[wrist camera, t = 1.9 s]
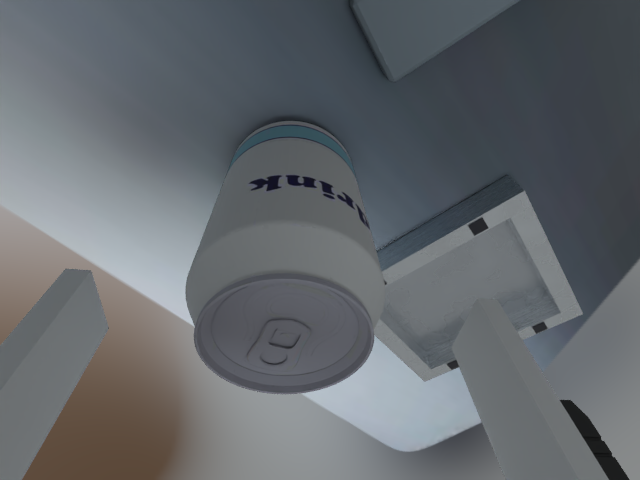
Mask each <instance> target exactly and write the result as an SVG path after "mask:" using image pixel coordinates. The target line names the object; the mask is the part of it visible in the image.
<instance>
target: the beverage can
mask: <svg viewBox="0 0 640 480" xmlns="http://www.w3.org/2000/svg"><path fill="white" fill-rule="evenodd" d="M186 302H187V306H188V310H189V313H190V315H191V318H192V320H193V323H194V325H195V330H194V342H195V347H196V350H197V352H198V354H199V356H200V358H201V359H202V361H203V362H204V363H205V365H206V366H208V368H209V369H210V370H212V371H213V372H214V373H215V374H217V375H218V376H219V377H221V378H223V379H224V380H226V381H228V382H230V383H232V384H235V385H237V386H240V387H242V388H246V389H249V390H253V391H258V392H263V393H272V394H297V393H306V392H311V391H316V390H320V389H323V388H326V387H329V386H332V385H334V384H337V383H339V382H341V381H343V380H344V379H346V378H348V377H349V376H351V375H352V374H353V373H355V372H356V371H357V370H358V369H359V368H360V367H361V366H362V365H363V364H364V363H365V361H366V360H367V359H368V357H369V355H370V353H371V351H372V348H373V343H374V329H375V327H376V325H377V323H378V321H379V318H380V316H381V314H382V311H383V308H384V303H385V282H384V278H383V274H382V271H381V267H380V263H379V260H378V256H377V252H376V249H375V245H374V241H373V238H372V234H371V231H370V227H369V223H368V220H367V216H366V212H365V209H364V205H363V201H362V198H361V194H360V190H359V187H358V183H357V180H356V176H355V172H354V169H353V165H352V162H351V159H350V157H349V155H348V153H347V151H346V150H345V148H344V147H343V145H342V144H341V143H340V142H339V141H338V140H337V139H336V138H335V137H334V136H333V135H331V134H330V133H329V132H327V131H325V130H324V129H322V128H320V127H318V126H315V125H313V124H309V123H305V122H300V121H282V122H276V123H272V124H269V125H266V126H264V127H261V128H259V129H258V130H256V131H254V132H253V133H252V134H250V135H249V136H248V137H247V138H246V139H245V140H244V141H243V142H242V143H241V144H240V146H239V147H238V149H237V150H236V152H235V154H234V156H233V159H232V162H231V164H230V167H229V169H228V172H227V175H226V177H225V180H224V182H223V185H222V188H221V190H220V193H219V195H218V198H217V201H216V203H215V206H214V208H213V211H212V214H211V216H210V219H209V221H208V224H207V227H206V229H205V232H204V234H203V237H202V240H201V242H200V245H199V247H198V250H197V253H196V255H195V258H194V261H193V263H192V266H191V268H190V271H189V274H188V277H187V282H186Z"/></svg>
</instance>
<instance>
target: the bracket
mask: <svg viewBox="0 0 640 480" xmlns="http://www.w3.org/2000/svg"><path fill="white" fill-rule="evenodd" d="M518 1H520V0H350V3H349V5H350V7H351V9H352V11H353V13H354V15H355V17H356V19H357V21H358V23H359V25H360V27H361V29H362V31H363V33H364V35H365V37H366V39H367V41H368V43H369V45H370V47H371V49H372V51H373V53H374V55H375V57H376V59H377V61H378V63H379V65H380V67H381V69H382V71H383V73H384V75H385V76H386V77H387V78H388V80H389V81H392V82H396V81H398V80H400V79H401V78H403V77H404V76H406V75H407V74H409V73H410V72H412V71H413V70H415V69H416V68H418V67H419V66H421V65H422V64H424V63H425V62H427V61H428V60H430V59H432V58H433V57H435V56H436V55H438V54H439V53H441V52H442V51H444V50H445V49H447V48H448V47H450V46H451V45H453V44H454V43H456V42H457V41H459V40H460V39H462V38H463V37H465V36H467V35H468V34H470V33H471V32H473V31H474V30H476V29H477V28H479V27H480V26H482V25H483V24H485V23H486V22H488V21H489V20H491V19H492V18H494V17H495V16H497V15H499V14H500V13H502V12H503V11H505V10H506V9H508V8H509V7H511V6H512V5H514V4H515V3H517V2H518Z"/></svg>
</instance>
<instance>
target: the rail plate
mask: <svg viewBox="0 0 640 480" xmlns="http://www.w3.org/2000/svg"><path fill="white" fill-rule="evenodd" d="M377 256H378V260H379V263H380V267H381V271H382V274H383V278H384V282H385V303H384V308H383V311H382V314H381V316H380V318H379V321H378V323H377V325H376V327H375V329H374V335H375V336H376V337H377V338H378V339H379V340H380V341H381V342H383V343H384V344H385V345H386V346H387V347H388V348H389V349H390V350H391V351H392V352H393V353H394V354H395V355H397V356H398V357H399V358H400V359H401V360H402V361H403V362H404V363H405V364H406V365H407V366H408V367H409V368H411V369H412V370H413V371H414V372H415V373H416V374H417V375H418V376H419V377H420V378H421V379H422V380H423V381H428V380H430V379H432V378H435V377H437V376H439V375H442V374H444V373H446V372H449V371H451V370H453V369H456V368H458V367H459V365H458V363H457V360H456V358H455V355H454V353H453V350H452V348H451V347H452V345H453V343H454V341H455V340H456V338H457V336H458V334H459V332H460V330H461V328H462V326H463V324H464V322H465V321H466V319H467V317H468V315H469V313H470V311H471V309H472V307H473V305H474V303H475V301H476V300H477V298H481V299H495V300H498V302H499V303H500V305H501V307H502V308H503V310H504V311H505V313H506V315H507V316H508V318H509V319H510V321H511V323H512V324H513V326H514V328H515V329H516V331H517V332H518V334H519V336H520V337H521V339H522V340H524V339H526V338H528V337H531V336H533V335H535V334H538V333H540V332H542V331H545V330H547V329H549V328H552V327H554V326H556V325H559V324H561V323H563V322H566V321H568V320H570V319H573V318H575V317H577V316H580V315H582V314H583V313H582V311H581V308H580V306H579V304H578V302H577V300H576V298H575V296H574V294H573V292H572V289H571V287H570V285H569V283H568V281H567V279H566V277H565V275H564V273H563V271H562V268H561V266H560V264H559V262H558V260H557V258H556V256H555V254H554V252H553V249H552V247H551V245H550V243H549V241H548V239H547V237H546V235H545V233H544V230H543V228H542V226H541V224H540V222H539V220H538V218H537V216H536V214H535V212H534V209H533V207H532V205H531V203H530V201H529V199H528V197H527V195H526V193H525V191H524V190H523V189H522V188H521V187H520V186H519V185H518V184H517V183H516V182H515V181H514V180H513V179H512V178H511V177H510V176H509V175H506V176H505V177H503V178H501V179H500V180H498V181H496V182H495V183H493V184H491V185H490V186H488V187H486V188H484V189H483V190H481V191H479V192H478V193H476V194H474V195H473V196H471V197H469V198H468V199H466V200H464V201H463V202H461V203H459V204H457V205H456V206H454V207H452V208H451V209H449V210H447V211H446V212H444V213H442V214H441V215H439V216H437V217H435V218H434V219H432V220H430V221H429V222H427V223H425V224H424V225H422V226H420V227H419V228H417V229H415V230H414V231H412V232H410V233H408V234H407V235H405V236H403V237H402V238H400V239H398V240H397V241H395V242H393V243H392V244H390V245H388V246H387V247H385V248H383V249H381V250H380V251H378V252H377Z"/></svg>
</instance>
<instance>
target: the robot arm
mask: <svg viewBox="0 0 640 480" xmlns="http://www.w3.org/2000/svg"><path fill="white" fill-rule="evenodd" d="M108 329H109V327H108V324H107V321H106V317H105V314H104V311H103V308H102V305H101V301H100V298H99V294H98V292H97V288H96V285H95V281H94V278H93V275H92V272H91V270H77V269H65V270H64V271H63V273H62V274H61V275H60V276H59V277H58V278H57V280H56V281H55V282H54V283H53V284H52V286H51V287H50V288H49V289H48V290H47V291H46V293H45V294H44V295H43V296H42V297H41V298H40V300H39V301H38V302H37V303H36V304H35V305H34V307H33V308H32V309H31V310H30V311H29V312H28V314H27V315H26V316H25V317H24V318H23V320H22V321H21V322H20V323H19V324H18V325H17V327H16V328H15V329H14V330H13V331H12V332H11V334H10V335H9V336H8V337H7V338H6V340H5V341H4V342H3V343H2V344H1V345H0V480H22V478H23V477H24V475H25V473H26V471H27V470H28V468H29V466H30V464H31V463H32V461H33V459H34V458H35V456H36V454H37V452H38V451H39V449H40V447H41V445H42V444H43V442H44V440H45V438H46V436H47V435H48V433H49V431H50V430H51V428H52V426H53V425H54V423H55V421H56V419H57V418H58V416H59V414H60V412H61V411H62V409H63V407H64V405H65V403H66V402H67V400H68V398H69V397H70V395H71V393H72V391H73V390H74V388H75V386H76V384H77V383H78V381H79V379H80V377H81V375H82V374H83V372H84V371H85V369H86V367H87V365H88V364H89V362H90V360H91V358H92V357H93V355H94V353H95V351H96V350H97V348H98V346H99V345H100V343H101V341H102V339H103V337H104V336H105V334H106V332H107V331H108ZM451 348H452V350H453V353H454V355H455V358H456V360H457V363H458V365H459V368H460V370H461V372H462V375H463V377H464V380H465V382H466V385H467V387H468V389H469V392H470V394H471V397H472V399H473V402H474V404H475V406H476V409H477V411H478V414H479V416H480V419H481V421H482V424H483V426H484V428H485V431H486V433H487V436H488V438H489V441H490V443H491V445H492V448H493V450H494V453H495V455H496V458H497V460H498V463H499V465H500V467H501V470H502V472H503V475H504V477H505V479H506V480H629V478H628V477H627V475H626V474H625V472H624V471H623V469H622V468H621V466H620V465H619V463H618V462H617V460H616V459H615V457H612V453H611V451H610V450H609V448H608V447H607V445H606V444H605V442H604V441H602V440H601V436H600V435H599V433H598V432H597V430H596V428H595V427H594V425H593V424H592V422H591V421H590V419H589V418H588V417H587V416H586V415H585V414H584V413H583V412H582V411H581V410H580V409H579V408H578V407H577V406H576V405H575V404H574V403H573V402H572V401H571V400H559V398H558V397H557V395H556V394H555V392H554V390H553V389H552V387H551V385H550V384H549V382H548V381H547V379H546V377H545V376H544V374H543V373H542V371H541V369H540V368H539V366H538V365H537V363H536V361H535V360H534V358H533V357H532V355H531V353H530V352H529V350H528V348H527V347H526V345H525V344H524V342H523V340H522V339H521V337H520V336H519V334H518V332H517V331H516V329H515V328H514V326H513V324H512V323H511V321H510V319H509V318H508V316H507V315H506V313H505V311H504V310H503V308H502V307H501V305H500V303H499V302H498V300H495V299H481V298H477V300H476V301H475V303H474V305H473V307H472V309H471V311H470V313H469V315H468V317H467V319H466V321H465V322H464V324H463V326H462V328H461V330H460V332H459V334H458V336H457V338H456V340H455V341H454V343H453V345H452V347H451Z"/></svg>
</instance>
